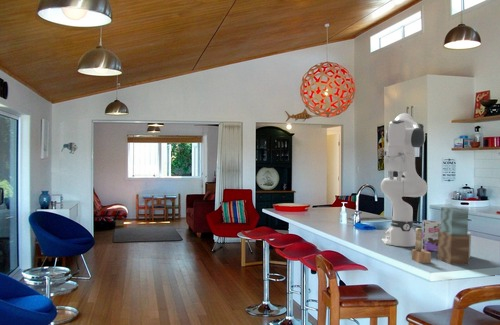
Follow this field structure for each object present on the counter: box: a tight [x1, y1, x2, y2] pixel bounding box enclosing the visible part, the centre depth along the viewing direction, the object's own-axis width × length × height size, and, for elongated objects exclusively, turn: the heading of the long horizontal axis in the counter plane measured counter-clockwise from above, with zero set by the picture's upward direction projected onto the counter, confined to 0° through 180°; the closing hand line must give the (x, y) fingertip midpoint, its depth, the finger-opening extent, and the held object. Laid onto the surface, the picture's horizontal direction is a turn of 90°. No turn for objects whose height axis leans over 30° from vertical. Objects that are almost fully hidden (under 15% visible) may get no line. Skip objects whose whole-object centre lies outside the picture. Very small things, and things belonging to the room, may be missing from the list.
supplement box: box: [467, 231, 472, 259], centre depth 251 cm, size 7×7×13 cm
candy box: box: [421, 219, 441, 252], centre depth 264 cm, size 14×6×16 cm, turn 82°
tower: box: [436, 207, 470, 265], centre depth 238 cm, size 13×9×26 cm
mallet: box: [411, 227, 432, 264], centre depth 236 cm, size 8×16×6 cm
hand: (395, 180), depth 241 cm, fingers open, 8 cm apart
